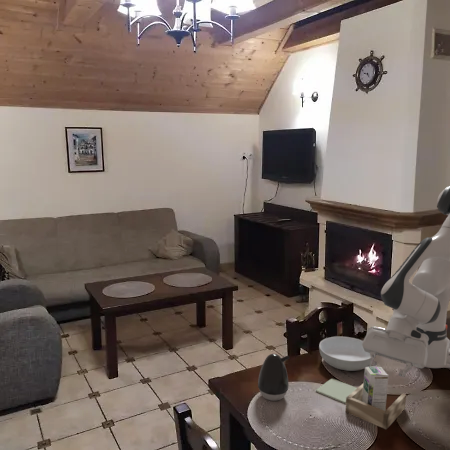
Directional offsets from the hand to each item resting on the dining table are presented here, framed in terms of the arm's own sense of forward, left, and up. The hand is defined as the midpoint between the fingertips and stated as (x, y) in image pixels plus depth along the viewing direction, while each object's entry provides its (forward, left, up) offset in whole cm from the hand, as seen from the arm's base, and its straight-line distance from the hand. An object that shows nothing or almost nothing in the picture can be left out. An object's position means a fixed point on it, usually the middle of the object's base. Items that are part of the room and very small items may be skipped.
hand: (386, 371), depth 147 cm
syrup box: (+5, -1, -13) cm, 14 cm away
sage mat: (+1, -16, -13) cm, 20 cm away
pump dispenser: (+19, -30, -13) cm, 38 cm away
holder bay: (+3, -1, -13) cm, 13 cm away
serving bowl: (-19, -23, -13) cm, 33 cm away
